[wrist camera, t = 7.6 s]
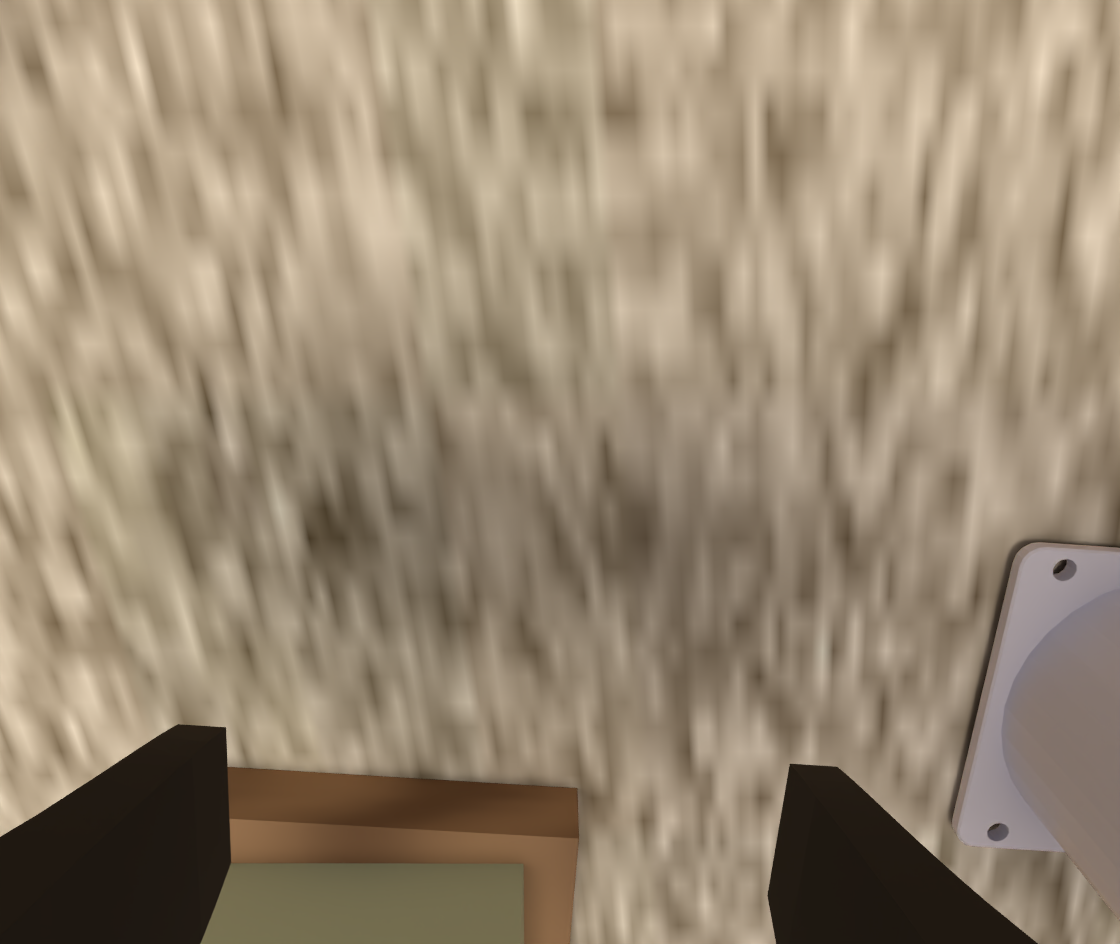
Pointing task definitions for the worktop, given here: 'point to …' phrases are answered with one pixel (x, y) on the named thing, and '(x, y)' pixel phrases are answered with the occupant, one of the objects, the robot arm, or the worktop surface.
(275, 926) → the sage top block
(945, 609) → the worktop surface
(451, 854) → the walnut base block
